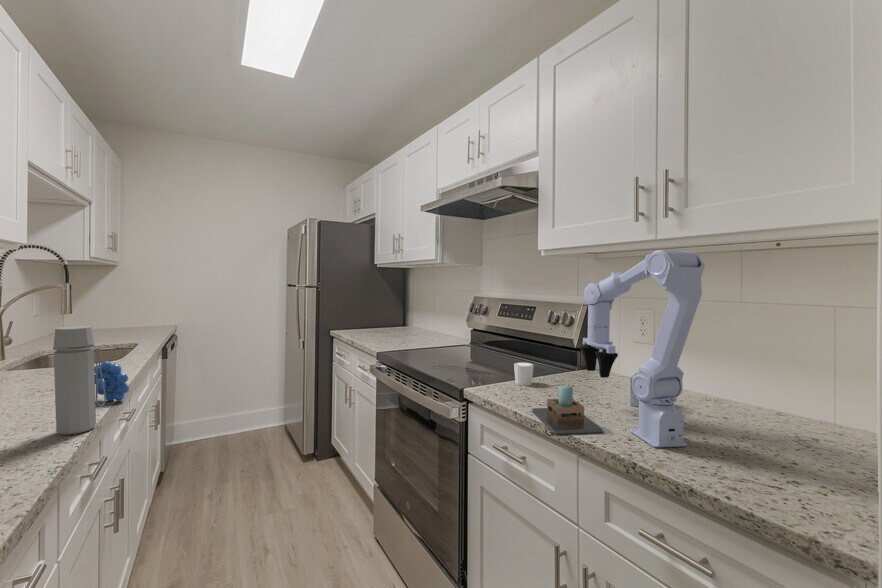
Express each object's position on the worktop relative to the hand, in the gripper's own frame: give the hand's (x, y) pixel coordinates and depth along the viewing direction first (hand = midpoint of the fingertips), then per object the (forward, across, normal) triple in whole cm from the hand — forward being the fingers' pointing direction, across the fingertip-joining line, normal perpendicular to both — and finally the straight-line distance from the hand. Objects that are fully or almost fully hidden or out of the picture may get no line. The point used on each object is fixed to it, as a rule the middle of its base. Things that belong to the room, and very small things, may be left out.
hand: (597, 373), depth 112 cm
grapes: (+11, +20, +142) cm, 144 cm away
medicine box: (+11, +4, -16) cm, 20 cm away
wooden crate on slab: (+10, -8, +13) cm, 18 cm away
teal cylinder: (+9, -8, +13) cm, 18 cm away
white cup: (+11, +29, +12) cm, 33 cm away
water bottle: (+11, -2, +133) cm, 133 cm away
